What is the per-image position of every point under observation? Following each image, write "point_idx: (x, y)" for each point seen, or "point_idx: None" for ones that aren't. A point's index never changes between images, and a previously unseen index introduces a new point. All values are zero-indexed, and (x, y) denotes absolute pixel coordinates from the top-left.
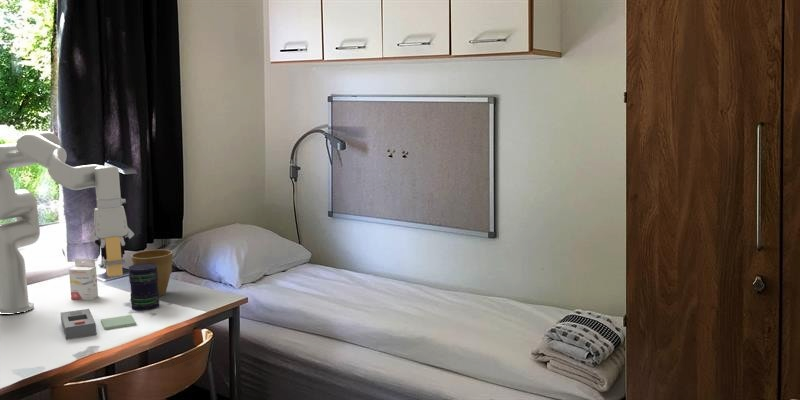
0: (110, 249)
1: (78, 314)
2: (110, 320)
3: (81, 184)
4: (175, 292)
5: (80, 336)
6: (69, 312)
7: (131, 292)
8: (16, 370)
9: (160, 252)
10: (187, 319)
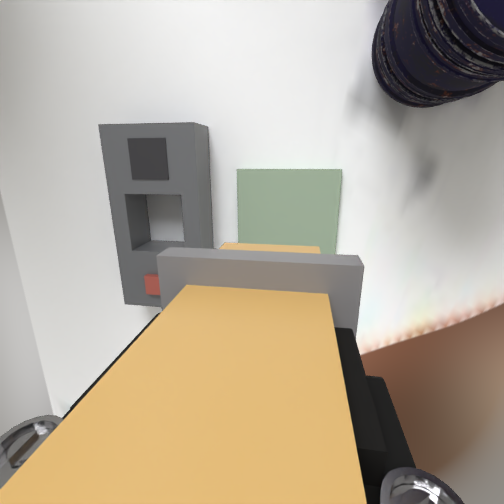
0: None
1: (157, 185)
2: (264, 201)
3: None
4: None
5: None
6: (127, 140)
7: (395, 21)
8: (67, 411)
9: None
10: (498, 300)
